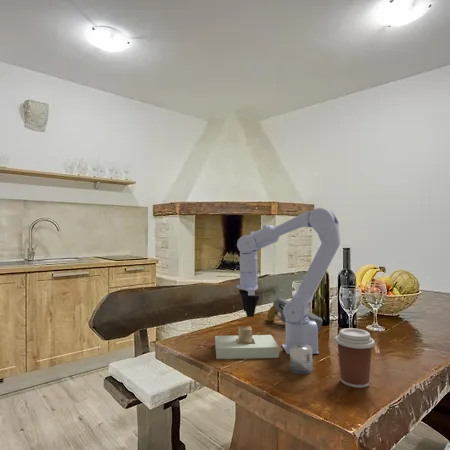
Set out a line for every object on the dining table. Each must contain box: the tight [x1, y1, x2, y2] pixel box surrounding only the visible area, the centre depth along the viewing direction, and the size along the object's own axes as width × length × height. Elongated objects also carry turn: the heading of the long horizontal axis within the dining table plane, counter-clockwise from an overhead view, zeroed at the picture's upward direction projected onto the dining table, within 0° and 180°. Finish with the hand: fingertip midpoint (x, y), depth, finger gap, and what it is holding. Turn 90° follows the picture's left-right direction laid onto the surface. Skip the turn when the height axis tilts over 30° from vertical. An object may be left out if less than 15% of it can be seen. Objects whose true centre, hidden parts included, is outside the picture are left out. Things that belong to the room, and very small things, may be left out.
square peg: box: [237, 325, 253, 344], centre depth 107 cm, size 4×4×7 cm
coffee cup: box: [334, 327, 376, 389], centre depth 85 cm, size 9×9×12 cm
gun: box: [266, 297, 324, 333], centre depth 134 cm, size 3×25×15 cm, turn 36°
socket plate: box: [214, 334, 280, 360], centre depth 107 cm, size 18×12×3 cm, turn 93°
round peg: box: [289, 344, 313, 375], centre depth 93 cm, size 6×6×6 cm
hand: (248, 313), depth 115 cm, fingers open, 7 cm apart
